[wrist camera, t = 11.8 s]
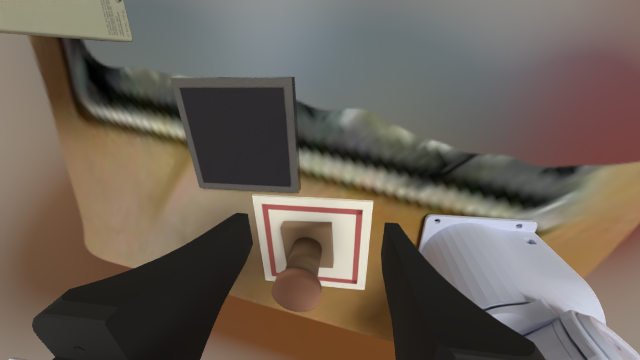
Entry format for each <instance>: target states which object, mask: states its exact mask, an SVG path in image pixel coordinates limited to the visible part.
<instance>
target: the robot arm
mask: <svg viewBox="0 0 640 360" xmlns="http://www.w3.org/2000/svg"><path fill="white" fill-rule="evenodd" d="M436 219H439V220H438V221H435V220H436ZM518 224H519V225H518ZM516 225H518V226H516ZM536 228H537V224H536V223H535V222H534V221H532V220H519V219H502V218H485V217H468V216H451V215H434V214H430V215H427V216H426V218H425V222H424V226H423V231H422V235H421V240H420V245H419V249H417V248H416V247H415V246H414V244H413V243H412V242H411V240H410V239H409V238H408V236H407V235H406V234H405V232H404V231H403V230H402V228H401V227H400V225H399V224H398V223H385V227H384V235H383V242H382V250H381V261H382V273H383V278H384V283H385V288H386V294H387V299H388V304H389V309H390V314H391V319H392V326H393V335H394V345H395V356H396V360H640V355H639V354H638V353H637V352H636V351H635V350H634V349H633V348H632V347H631V346H629V345H628V344H627V343H626V342H625V341H624V340H623V339H621V338H620V337H619V336H618V335H617V334H616V333H614V332H613V331H612V330H611V329H610V328H608V327H607V326H606V321H605V316H604V312H603V310H602V307H601V305H600V303H599V300H598V298H597V297H596V295H595V293H594V292H593V290H592V289H591V288H590V286H589V285H588V284H587V283H586V282H585V281H584V280H583V279H582V278H581V277H580V276H579V275H578V274H577V273H576V272H575V271H574V270H573V269H572V268H571V267H570V266H569V265H568V264H567V263H566V262H565V261H564V260H563V259H561V258H560V257H559V256H558V255H557V254H556V253H555V252H554V251H553V250H552V249H551V248H550V247H549V246H548V245H547V244H546V243H545V242H544V241H543V240H542V239H541V238H540V237H538V236H537V235H536V234H535V231H536ZM252 245H253V241H252V236H251V230H250V224H249V219H248V214H245V213H236V214H234V215H232V216H231V217H229V218H228V219H226V220H224V221H223V222H221V223H220V224H218V225H217V226H215V227H214V228H212V229H211V230H209V231H207V232H206V233H204V234H203V235H201V236H199V237H198V238H196V239H194V240H192V241H191V242H189V243H187V244H186V245H184V246H182V247H180V248H178V249H176V250H174V251H172V252H170V253H168V254H166V255H164V256H162V257H160V258H158V259H155V260H153V261H151V262H148V263H146V264H144V265H141V266H139V267H137V268H134V269H131V270H129V271H126V272H123V273H121V274H118V275H115V276H112V277H109V278H106V279H103V280H100V281H96V282H93V283H90V284H86V285H83V286H79V287H76V288H72V289H69V290H68V291H67V292H65V293H64V294H63V295H62V296H61V297H59V298H58V299H57V300H56V301H54V302H53V303H52V304H51V305H49V306H48V307H47V308H46V309H44V310H43V311H42V312H41V313H39V314H38V315H37V316H36V317H35V318H34V319H33V324H32V327H33V330H34V332H35V333H36V334H37V336H38V337H39V339H40V340H41V341H42V342H43V343H44V344H45V345H46V346H47V348H48V349H49V350H50V351H51V352H52V353H53V355H54V356H55V358H54V359H53V360H200V359H201V356H202V353H203V350H204V348H205V345H206V343H207V340H208V338H209V335H210V333H211V330H212V328H213V325H214V323H215V321H216V318H217V316H218V314H219V311H220V309H221V307H222V305H223V303H224V301H225V299H226V297H227V295H228V293H229V291H230V290H231V288H232V286H233V284H234V282H235V281H236V279H237V277H238V275H239V273H240V272H241V270H242V268H243V266H244V264H245V262H246V260H247V258H248V255H249V253H250V250H251V247H252ZM9 360H25V359H19V358H11V359H9Z"/></svg>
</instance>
